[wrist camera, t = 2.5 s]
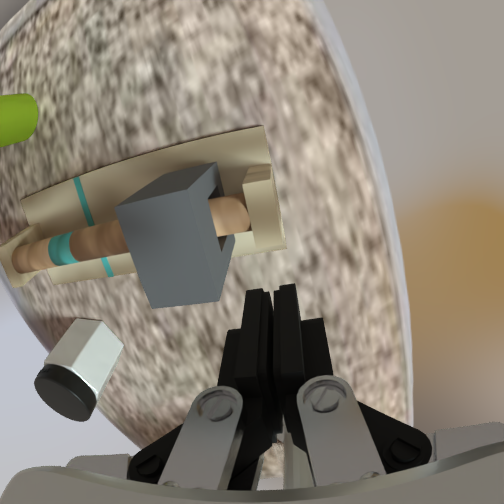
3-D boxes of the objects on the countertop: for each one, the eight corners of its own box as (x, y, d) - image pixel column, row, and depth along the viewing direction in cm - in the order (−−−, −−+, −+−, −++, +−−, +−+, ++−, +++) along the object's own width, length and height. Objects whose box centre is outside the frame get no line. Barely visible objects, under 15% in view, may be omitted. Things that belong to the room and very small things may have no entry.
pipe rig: (286, 245, 32) (289, 284, 25) (57, 282, 36) (26, 313, 29) (263, 125, 27) (260, 129, 20) (24, 198, 31) (-16, 219, 24)
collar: (235, 240, 30) (219, 301, 21) (185, 249, 30) (151, 308, 21) (216, 161, 26) (187, 189, 17) (163, 173, 27) (114, 207, 18)
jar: (77, 305, 37) (31, 364, 26) (128, 334, 39) (93, 401, 28) (71, 345, 41) (34, 400, 30) (116, 370, 42) (86, 431, 31)
